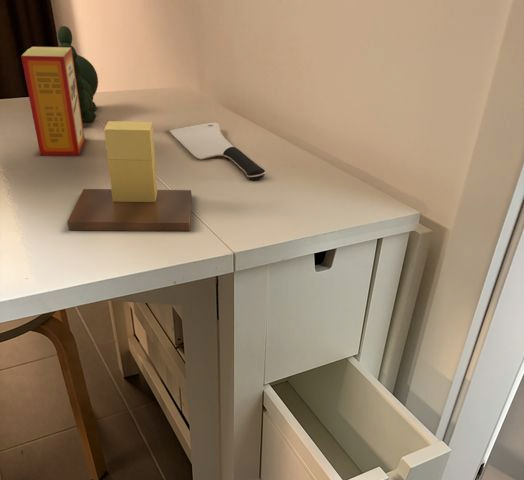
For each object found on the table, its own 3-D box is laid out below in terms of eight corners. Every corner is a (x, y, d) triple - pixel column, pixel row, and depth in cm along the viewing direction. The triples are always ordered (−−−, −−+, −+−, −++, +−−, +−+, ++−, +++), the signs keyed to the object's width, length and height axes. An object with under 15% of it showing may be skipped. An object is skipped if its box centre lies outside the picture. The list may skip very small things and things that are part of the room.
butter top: (107, 159, 75) (103, 129, 73) (111, 150, 79) (108, 121, 76) (152, 160, 76) (149, 130, 73) (154, 151, 79) (152, 122, 77)
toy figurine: (104, 139, 112) (100, 98, 130) (90, 34, 99) (89, 4, 117) (55, 140, 110) (58, 98, 128) (35, 33, 97) (42, 3, 115)
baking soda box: (49, 139, 105) (31, 44, 95) (84, 139, 106) (71, 45, 96) (40, 155, 97) (20, 53, 88) (78, 155, 98) (63, 54, 89)
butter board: (68, 230, 74) (66, 221, 73) (84, 196, 83) (83, 188, 82) (189, 230, 75) (189, 222, 74) (191, 197, 85) (191, 190, 84)
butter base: (112, 201, 79) (107, 159, 75) (116, 191, 82) (111, 150, 79) (155, 202, 79) (152, 160, 76) (157, 192, 83) (154, 151, 79)
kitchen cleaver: (168, 126, 112) (215, 117, 114) (170, 135, 113) (216, 126, 115) (216, 179, 89) (273, 166, 91) (217, 189, 90) (274, 176, 92)
